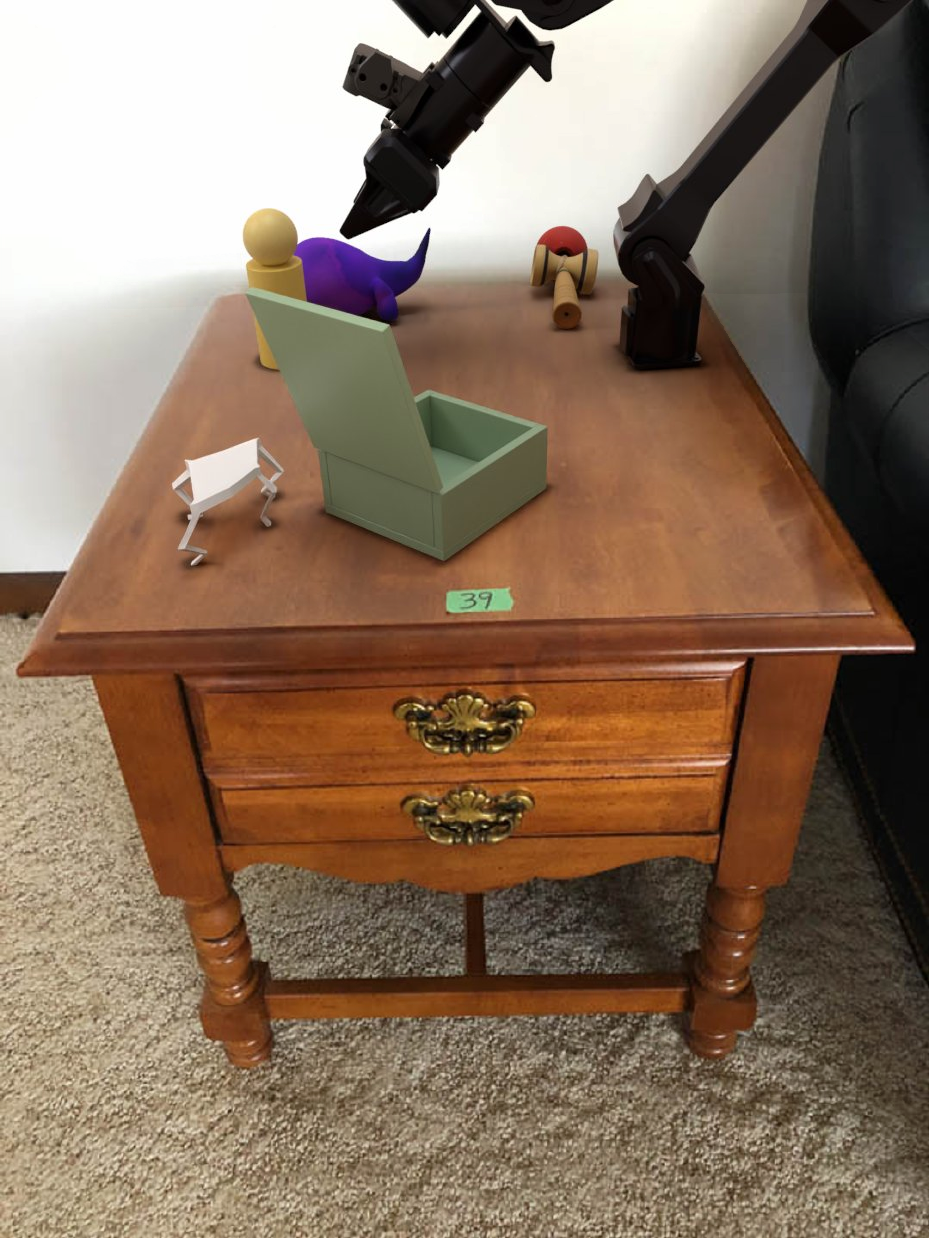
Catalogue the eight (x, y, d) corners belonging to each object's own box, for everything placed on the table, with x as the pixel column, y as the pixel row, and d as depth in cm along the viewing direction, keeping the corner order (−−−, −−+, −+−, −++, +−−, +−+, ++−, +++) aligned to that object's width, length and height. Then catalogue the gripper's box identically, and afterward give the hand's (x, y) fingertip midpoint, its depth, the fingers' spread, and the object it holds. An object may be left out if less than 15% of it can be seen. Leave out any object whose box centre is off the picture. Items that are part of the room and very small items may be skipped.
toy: (419, 305, 116) (284, 303, 113) (424, 216, 111) (282, 211, 108) (431, 333, 109) (288, 331, 106) (437, 240, 104) (287, 235, 101)
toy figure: (313, 347, 104) (295, 200, 96) (313, 367, 100) (294, 215, 91) (261, 351, 104) (239, 203, 95) (259, 371, 100) (235, 219, 91)
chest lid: (251, 286, 65) (244, 293, 64) (389, 324, 59) (382, 331, 58) (319, 441, 75) (313, 447, 74) (443, 487, 69) (437, 493, 68)
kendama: (611, 339, 107) (598, 260, 120) (603, 283, 102) (591, 207, 115) (537, 353, 108) (532, 273, 121) (527, 298, 104) (523, 221, 116)
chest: (431, 448, 86) (428, 389, 83) (546, 488, 80) (548, 426, 77) (325, 512, 78) (317, 449, 75) (444, 561, 72) (441, 495, 69)
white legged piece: (186, 492, 81) (174, 435, 78) (292, 490, 81) (284, 433, 78) (147, 579, 71) (131, 518, 68) (267, 577, 71) (256, 516, 68)
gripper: (406, -8, 91) (298, 131, 98) (383, 21, 76) (257, 182, 83) (497, 89, 95) (386, 215, 102) (492, 134, 80) (363, 278, 87)
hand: (350, 220), depth 93 cm, fingers open, 9 cm apart
